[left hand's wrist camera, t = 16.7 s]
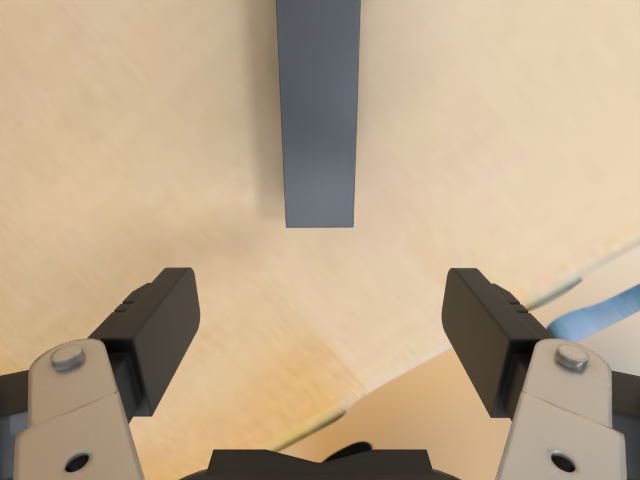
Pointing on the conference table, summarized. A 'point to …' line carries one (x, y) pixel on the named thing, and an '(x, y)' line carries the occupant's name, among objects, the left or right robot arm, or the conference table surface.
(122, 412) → the left robot arm
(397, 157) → the conference table surface
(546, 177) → the conference table surface
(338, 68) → the bar
